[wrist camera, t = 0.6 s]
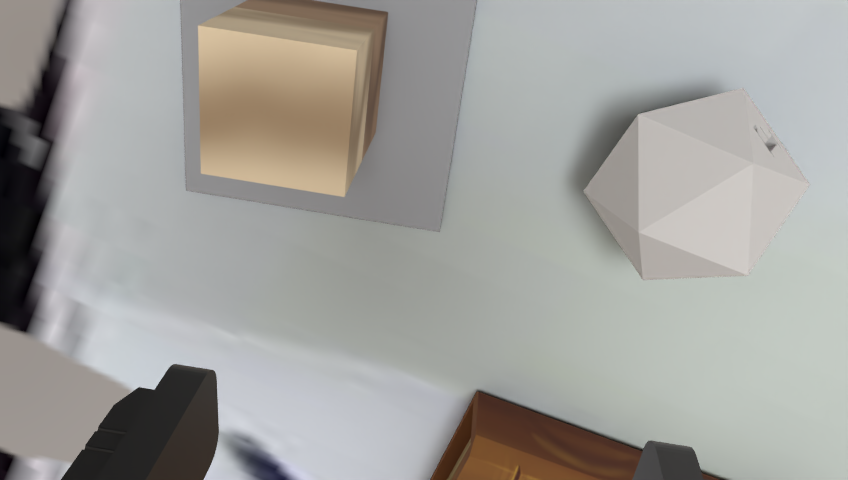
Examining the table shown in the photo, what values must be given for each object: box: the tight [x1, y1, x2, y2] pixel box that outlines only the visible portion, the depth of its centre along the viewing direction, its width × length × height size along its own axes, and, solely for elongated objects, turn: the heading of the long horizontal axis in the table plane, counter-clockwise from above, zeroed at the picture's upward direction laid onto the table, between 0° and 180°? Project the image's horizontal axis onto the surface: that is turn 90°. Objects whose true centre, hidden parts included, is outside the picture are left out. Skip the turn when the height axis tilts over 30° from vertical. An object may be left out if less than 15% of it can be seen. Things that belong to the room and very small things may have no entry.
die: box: [583, 88, 810, 280], centre depth 32 cm, size 8×9×10 cm
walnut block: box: [235, 0, 388, 160], centre depth 33 cm, size 6×6×4 cm
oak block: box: [198, 7, 374, 197], centre depth 29 cm, size 6×6×4 cm
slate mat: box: [180, 0, 477, 232], centre depth 35 cm, size 16×14×1 cm
